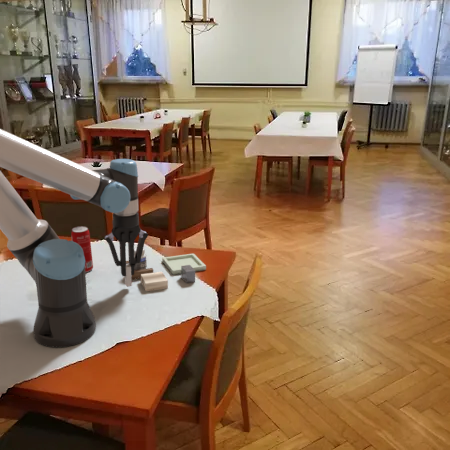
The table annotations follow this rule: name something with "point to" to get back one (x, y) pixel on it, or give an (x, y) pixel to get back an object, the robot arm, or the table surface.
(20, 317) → the table surface
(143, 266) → the pill bottle
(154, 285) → the beige grooved block
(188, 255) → the tray
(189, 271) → the bench dog
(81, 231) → the beverage can
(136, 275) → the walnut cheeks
